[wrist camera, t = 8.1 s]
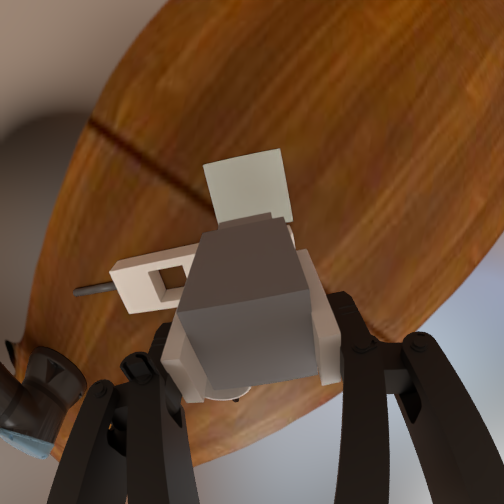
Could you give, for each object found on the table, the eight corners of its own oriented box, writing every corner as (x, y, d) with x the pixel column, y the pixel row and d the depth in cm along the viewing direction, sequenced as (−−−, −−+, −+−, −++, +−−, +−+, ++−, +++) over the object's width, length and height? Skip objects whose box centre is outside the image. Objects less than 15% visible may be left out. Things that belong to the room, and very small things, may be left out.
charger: (225, 275, 22) (214, 390, 12) (208, 216, 19) (176, 312, 10) (288, 263, 21) (317, 374, 12) (277, 201, 19) (309, 288, 10)
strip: (84, 308, 41) (66, 336, 34) (66, 272, 38) (43, 297, 32) (297, 272, 38) (306, 303, 32) (289, 224, 35) (298, 249, 29)
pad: (221, 234, 36) (221, 235, 35) (203, 164, 32) (202, 165, 32) (292, 220, 35) (293, 221, 35) (279, 148, 31) (279, 148, 31)
